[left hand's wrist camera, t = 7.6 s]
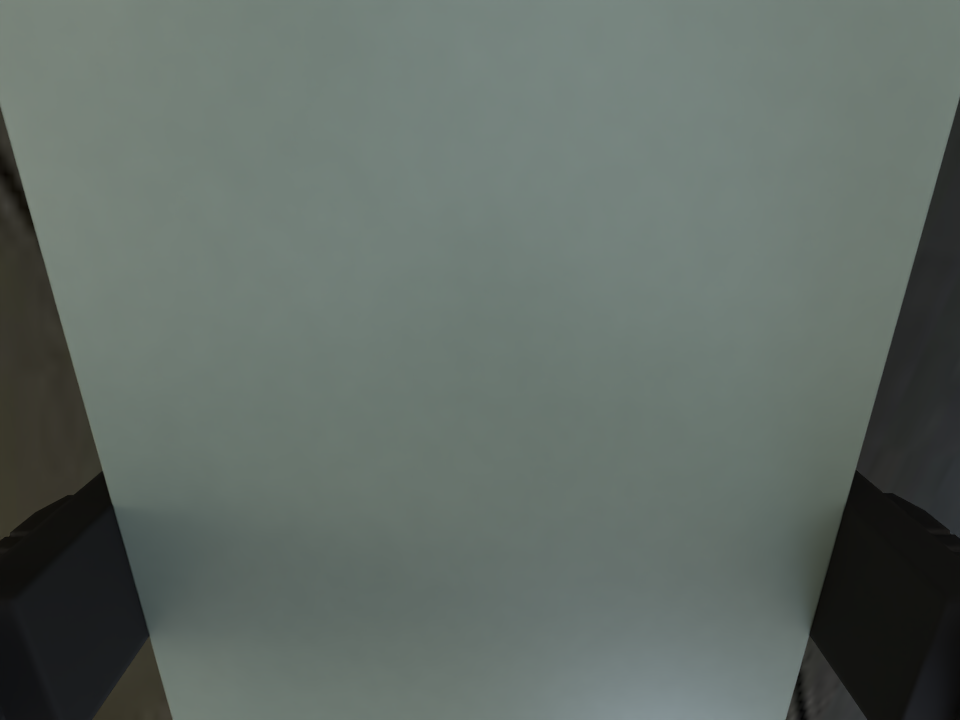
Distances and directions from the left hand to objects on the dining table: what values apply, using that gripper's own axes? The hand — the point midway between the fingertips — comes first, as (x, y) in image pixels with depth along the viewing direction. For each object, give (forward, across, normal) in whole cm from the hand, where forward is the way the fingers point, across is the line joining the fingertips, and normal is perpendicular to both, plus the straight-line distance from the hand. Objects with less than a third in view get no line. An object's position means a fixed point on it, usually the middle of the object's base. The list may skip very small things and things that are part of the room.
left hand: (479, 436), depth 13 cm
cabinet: (+6, 0, -5) cm, 8 cm away
